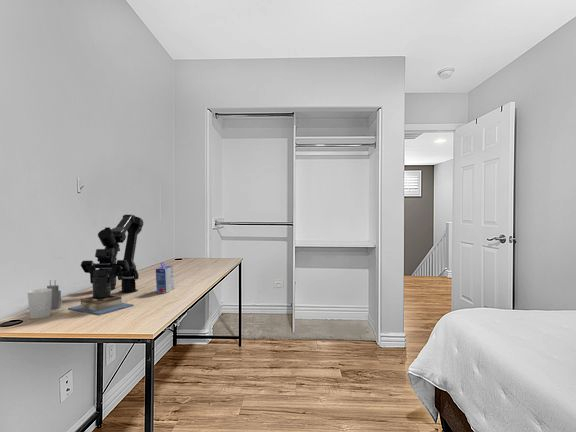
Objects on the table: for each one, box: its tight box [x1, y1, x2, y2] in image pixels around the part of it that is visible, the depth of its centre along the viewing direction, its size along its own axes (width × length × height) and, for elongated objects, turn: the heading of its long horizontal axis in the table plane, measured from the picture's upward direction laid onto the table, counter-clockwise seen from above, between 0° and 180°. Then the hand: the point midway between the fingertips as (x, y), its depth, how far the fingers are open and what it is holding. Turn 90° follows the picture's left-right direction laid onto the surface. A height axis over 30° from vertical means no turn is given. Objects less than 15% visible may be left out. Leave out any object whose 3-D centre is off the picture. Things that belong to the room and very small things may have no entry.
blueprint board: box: [67, 302, 135, 316], centre depth 157 cm, size 20×16×1 cm
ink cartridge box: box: [155, 261, 175, 294], centre depth 189 cm, size 10×6×14 cm, turn 174°
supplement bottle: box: [92, 268, 112, 299], centre depth 157 cm, size 7×7×12 cm
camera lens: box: [98, 260, 117, 291], centre depth 194 cm, size 8×8×15 cm
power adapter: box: [46, 280, 62, 311], centre depth 156 cm, size 3×5×12 cm, turn 100°
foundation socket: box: [80, 294, 123, 311], centre depth 157 cm, size 11×11×4 cm
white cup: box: [27, 287, 52, 319], centre depth 144 cm, size 8×8×10 cm
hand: (99, 282), depth 156 cm, fingers closed on supplement bottle, 7 cm apart
